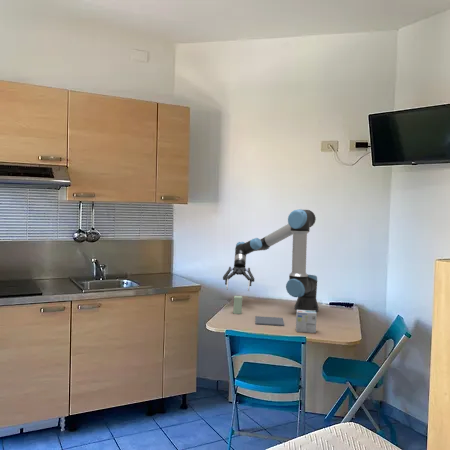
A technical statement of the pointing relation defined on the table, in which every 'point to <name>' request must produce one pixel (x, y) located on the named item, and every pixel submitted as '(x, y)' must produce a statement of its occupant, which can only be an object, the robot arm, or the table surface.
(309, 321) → the light bulb box
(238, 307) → the sage block
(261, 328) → the table surface
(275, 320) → the mat
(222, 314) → the table surface
